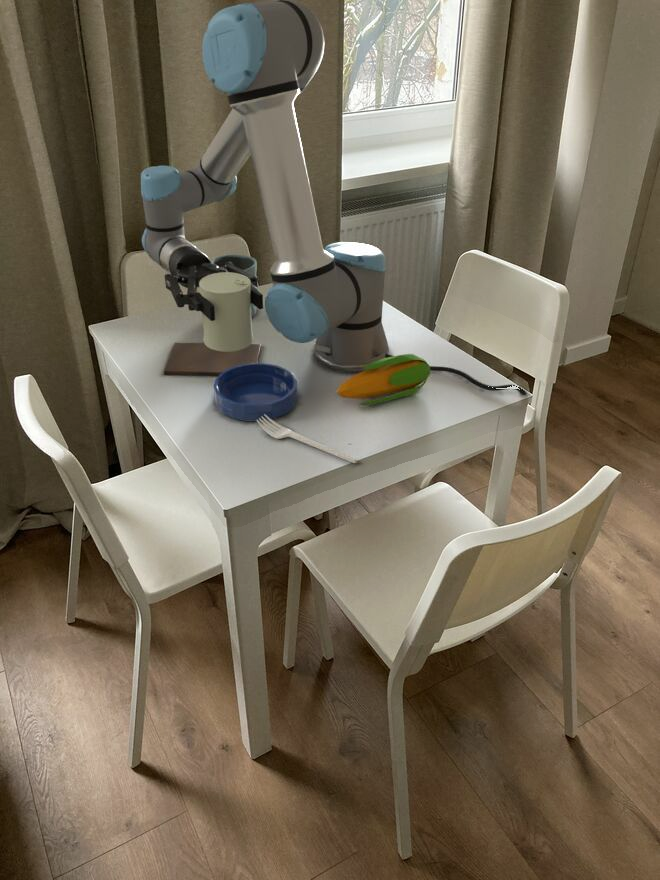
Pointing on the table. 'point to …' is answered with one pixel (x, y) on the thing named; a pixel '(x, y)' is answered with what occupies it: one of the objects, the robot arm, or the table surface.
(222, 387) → the bowl
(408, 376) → the corn
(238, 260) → the blue cup
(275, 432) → the fork
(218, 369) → the board
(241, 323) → the can
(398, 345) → the table surface
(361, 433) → the table surface
